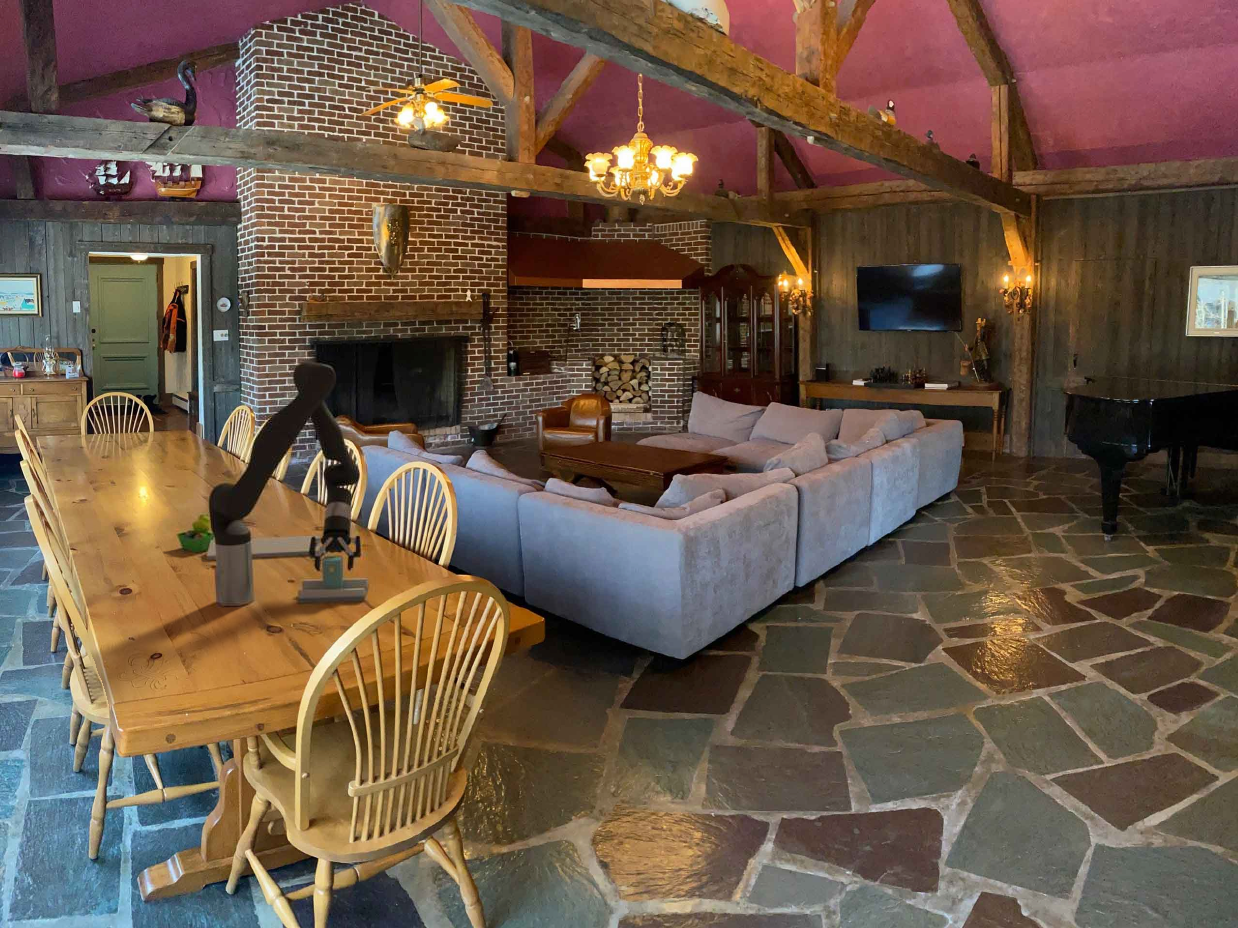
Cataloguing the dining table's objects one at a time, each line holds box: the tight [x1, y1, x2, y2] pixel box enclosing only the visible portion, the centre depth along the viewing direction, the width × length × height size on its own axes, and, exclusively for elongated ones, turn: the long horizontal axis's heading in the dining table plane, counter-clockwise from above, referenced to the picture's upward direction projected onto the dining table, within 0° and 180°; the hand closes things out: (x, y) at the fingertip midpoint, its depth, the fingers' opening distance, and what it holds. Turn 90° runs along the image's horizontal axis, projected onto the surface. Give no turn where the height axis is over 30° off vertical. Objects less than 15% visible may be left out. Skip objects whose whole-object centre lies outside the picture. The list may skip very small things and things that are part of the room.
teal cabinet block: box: [321, 555, 344, 589], centre depth 267 cm, size 5×6×10 cm
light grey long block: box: [206, 535, 321, 561], centre depth 311 cm, size 34×5×10 cm
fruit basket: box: [176, 513, 215, 553], centre depth 314 cm, size 11×9×11 cm
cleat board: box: [297, 577, 370, 604], centre depth 269 cm, size 18×13×4 cm
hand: (333, 569), depth 268 cm, fingers open, 8 cm apart
